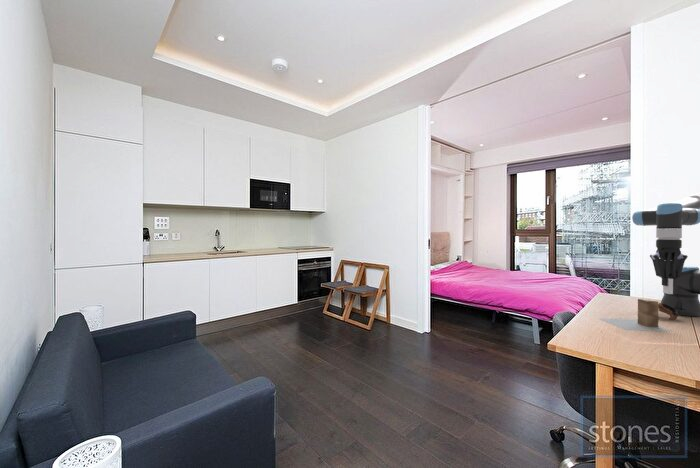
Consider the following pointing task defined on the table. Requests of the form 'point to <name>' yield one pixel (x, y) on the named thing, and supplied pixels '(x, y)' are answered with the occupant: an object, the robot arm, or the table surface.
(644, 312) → the walnut block
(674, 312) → the brown curved arch
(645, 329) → the mat
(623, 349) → the table surface
